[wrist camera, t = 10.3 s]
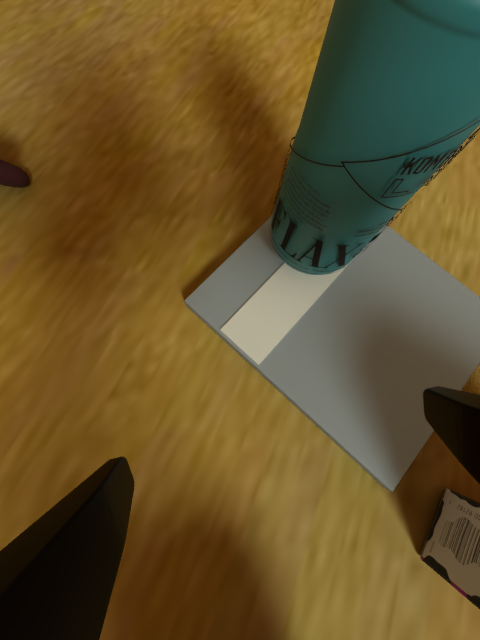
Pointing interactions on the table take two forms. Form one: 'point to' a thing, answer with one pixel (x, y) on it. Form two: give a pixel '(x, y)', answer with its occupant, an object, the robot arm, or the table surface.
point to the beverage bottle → (376, 124)
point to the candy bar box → (456, 544)
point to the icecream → (12, 175)
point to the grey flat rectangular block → (349, 340)
